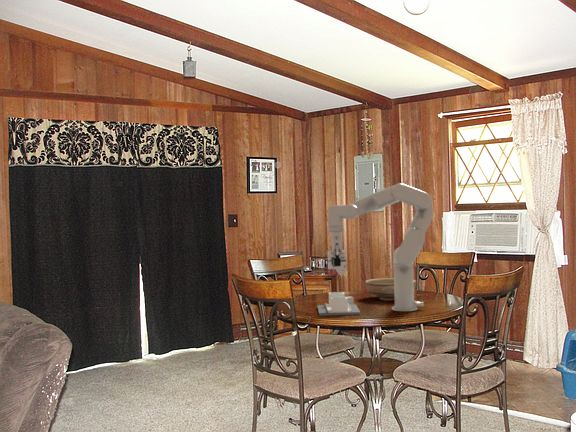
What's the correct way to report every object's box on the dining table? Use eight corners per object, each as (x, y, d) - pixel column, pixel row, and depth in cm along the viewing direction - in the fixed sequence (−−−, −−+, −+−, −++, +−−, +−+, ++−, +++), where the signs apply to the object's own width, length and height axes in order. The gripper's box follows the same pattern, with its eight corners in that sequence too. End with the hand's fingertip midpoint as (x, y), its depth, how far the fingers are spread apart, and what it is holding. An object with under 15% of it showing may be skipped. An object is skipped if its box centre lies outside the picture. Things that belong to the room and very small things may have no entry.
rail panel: (355, 306, 334) (355, 291, 334) (360, 314, 309) (360, 298, 309) (317, 307, 335) (317, 292, 335) (319, 315, 310) (318, 299, 310)
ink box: (329, 275, 319) (329, 251, 319) (327, 274, 324) (327, 250, 323) (346, 274, 320) (346, 250, 320) (344, 273, 325) (343, 250, 325)
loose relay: (350, 303, 345) (350, 296, 345) (353, 304, 342) (353, 297, 342) (343, 304, 344) (343, 296, 344) (346, 305, 340) (346, 297, 340)
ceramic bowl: (366, 294, 380) (366, 277, 380) (415, 293, 375) (415, 276, 375) (363, 303, 344) (363, 285, 343) (417, 303, 339) (417, 284, 339)
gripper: (344, 229, 313) (345, 266, 313) (342, 228, 330) (343, 263, 330) (329, 230, 313) (330, 267, 313) (327, 229, 330) (328, 264, 330)
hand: (337, 265), depth 322 cm, fingers closed on ink box, 5 cm apart
